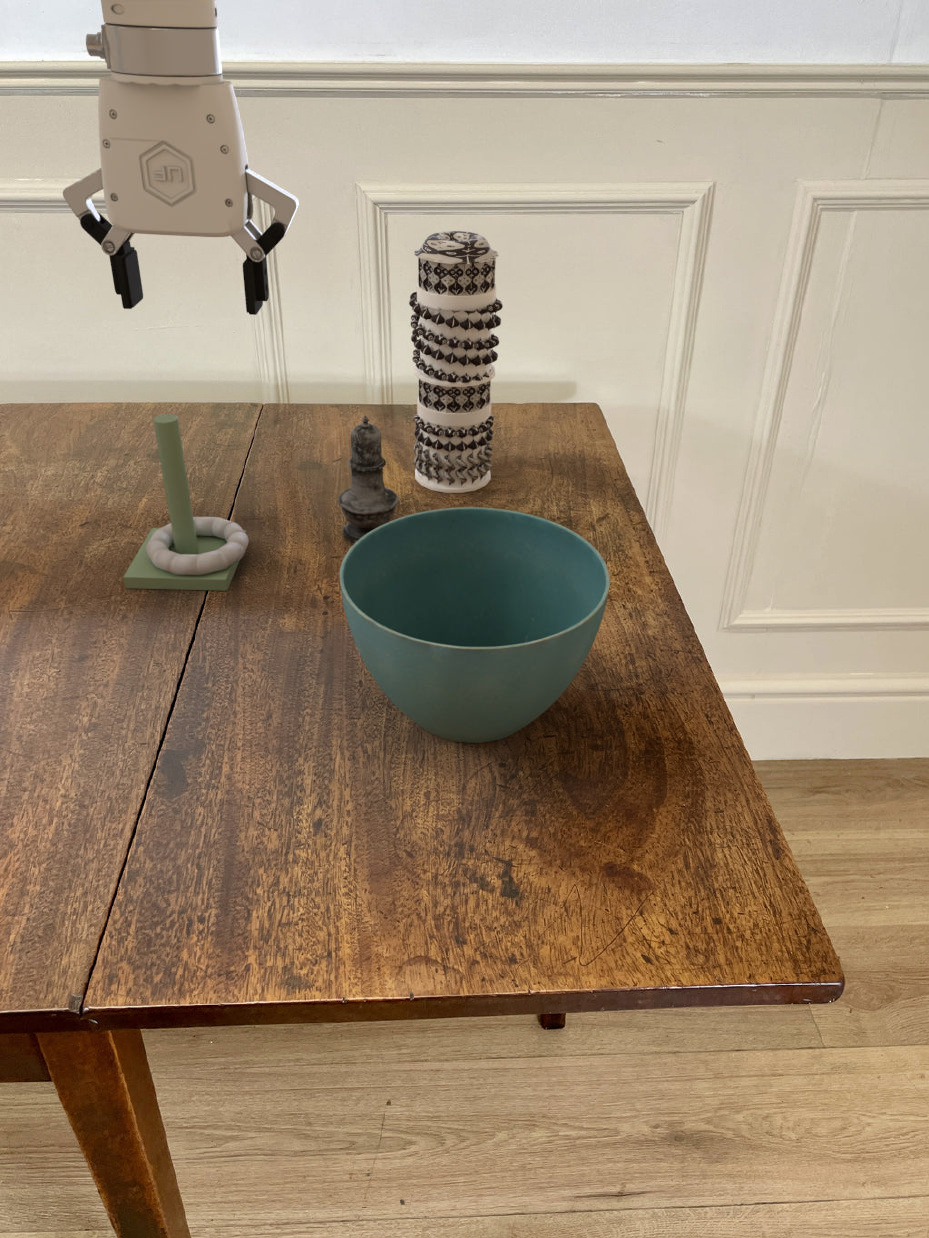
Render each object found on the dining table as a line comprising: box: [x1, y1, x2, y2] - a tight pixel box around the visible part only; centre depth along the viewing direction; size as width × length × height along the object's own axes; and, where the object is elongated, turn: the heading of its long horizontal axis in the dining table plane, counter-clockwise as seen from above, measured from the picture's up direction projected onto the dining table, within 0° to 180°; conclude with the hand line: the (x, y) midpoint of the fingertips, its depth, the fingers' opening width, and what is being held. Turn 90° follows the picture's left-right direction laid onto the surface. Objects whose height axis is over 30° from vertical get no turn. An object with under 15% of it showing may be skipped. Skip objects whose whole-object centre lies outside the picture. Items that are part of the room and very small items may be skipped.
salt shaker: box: [337, 415, 399, 544], centre depth 89 cm, size 6×6×12 cm
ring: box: [146, 516, 250, 575], centre depth 86 cm, size 9×9×2 cm
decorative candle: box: [408, 230, 504, 494], centre depth 97 cm, size 9×9×25 cm
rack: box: [122, 413, 248, 592], centre depth 83 cm, size 9×9×14 cm
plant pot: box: [338, 506, 611, 744], centre depth 67 cm, size 18×18×12 cm
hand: (194, 307), depth 75 cm, fingers open, 9 cm apart
